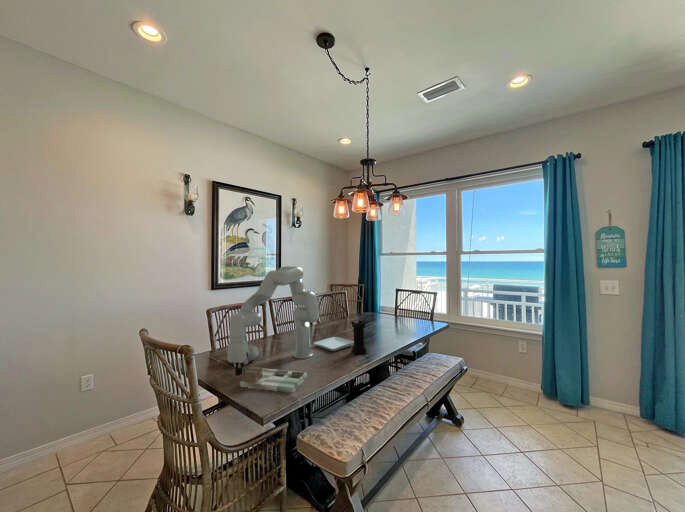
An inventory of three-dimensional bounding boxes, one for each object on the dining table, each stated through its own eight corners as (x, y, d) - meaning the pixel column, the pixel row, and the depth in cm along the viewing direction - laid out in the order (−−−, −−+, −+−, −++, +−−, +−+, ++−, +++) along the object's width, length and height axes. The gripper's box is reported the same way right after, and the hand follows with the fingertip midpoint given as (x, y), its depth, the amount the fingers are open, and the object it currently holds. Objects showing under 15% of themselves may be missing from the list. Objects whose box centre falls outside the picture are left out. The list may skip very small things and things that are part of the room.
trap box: (259, 372, 156) (259, 367, 156) (307, 376, 149) (307, 372, 149) (240, 387, 138) (239, 382, 139) (292, 393, 131) (292, 387, 131)
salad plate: (312, 347, 199) (312, 342, 199) (335, 340, 214) (334, 335, 214) (333, 354, 184) (333, 348, 184) (355, 346, 199) (355, 341, 199)
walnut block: (251, 376, 145) (251, 366, 145) (262, 377, 143) (262, 367, 143) (244, 381, 139) (244, 371, 139) (255, 382, 137) (255, 372, 137)
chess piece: (367, 353, 182) (366, 322, 182) (356, 355, 179) (355, 324, 179) (362, 350, 189) (361, 320, 189) (351, 351, 186) (350, 321, 186)
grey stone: (245, 354, 186) (245, 339, 186) (265, 359, 176) (264, 343, 177) (221, 363, 170) (221, 347, 170) (241, 369, 161) (241, 351, 161)
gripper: (220, 340, 142) (221, 376, 142) (246, 341, 138) (247, 379, 138) (230, 335, 149) (231, 370, 149) (255, 337, 146) (256, 373, 145)
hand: (239, 374), depth 144 cm, fingers closed
